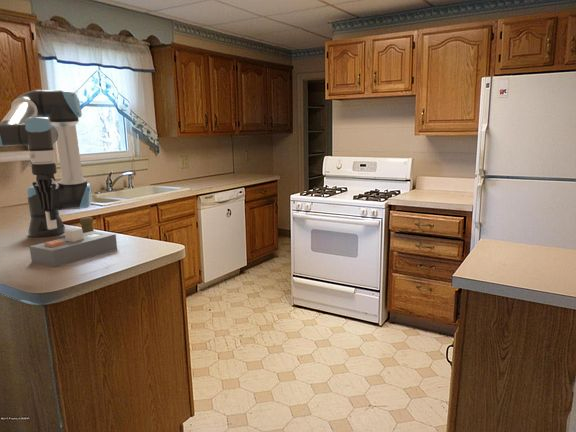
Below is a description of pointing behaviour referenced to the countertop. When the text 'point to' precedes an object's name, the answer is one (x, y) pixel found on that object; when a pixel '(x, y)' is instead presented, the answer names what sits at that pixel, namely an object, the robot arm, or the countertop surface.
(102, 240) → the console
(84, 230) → the cork
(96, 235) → the cream square button
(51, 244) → the terracotta button
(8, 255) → the countertop surface
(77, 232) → the cream white cube
